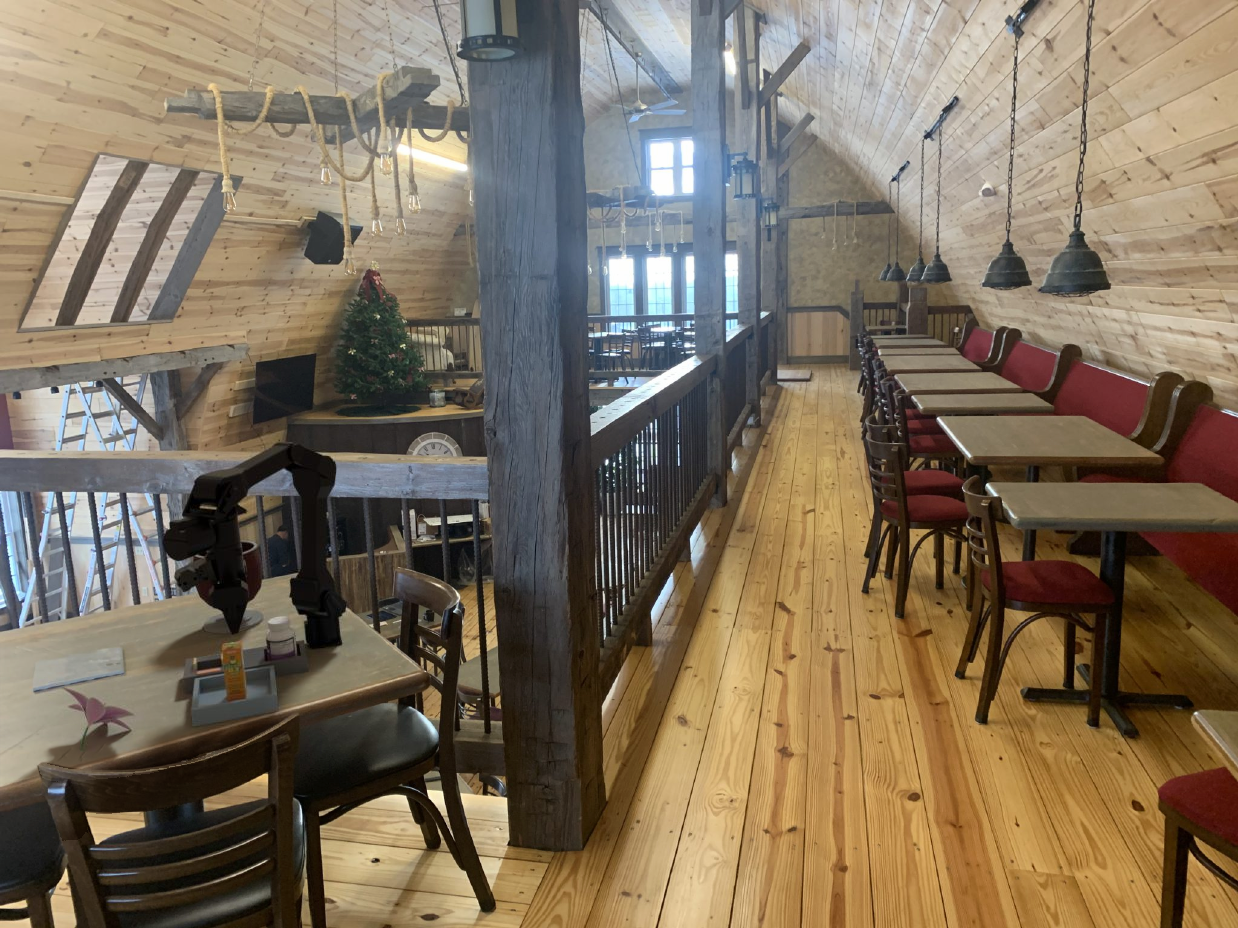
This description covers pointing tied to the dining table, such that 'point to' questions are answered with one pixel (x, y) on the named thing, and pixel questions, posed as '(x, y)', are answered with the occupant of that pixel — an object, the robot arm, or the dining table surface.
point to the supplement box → (234, 670)
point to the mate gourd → (254, 584)
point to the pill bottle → (280, 639)
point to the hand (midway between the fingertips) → (234, 624)
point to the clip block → (251, 660)
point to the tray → (216, 707)
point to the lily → (98, 711)
